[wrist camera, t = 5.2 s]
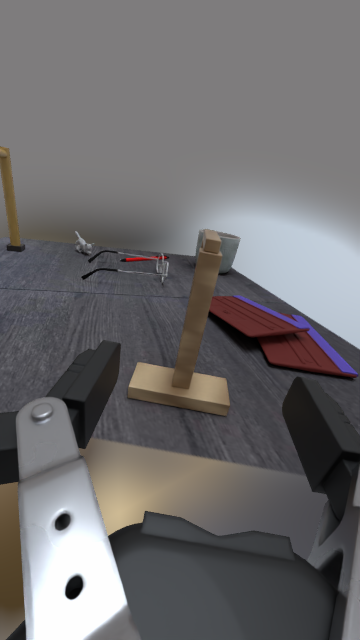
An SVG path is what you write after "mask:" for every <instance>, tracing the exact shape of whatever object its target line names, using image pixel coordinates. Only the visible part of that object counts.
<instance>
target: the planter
mask: <svg viewBox="0 0 360 640" xmlns="http://www.w3.org/2000/svg"><path fill="white" fill-rule="evenodd" d="M216 232H217V234H218V236H219V238H220V240H221V246H220V250H219V251H220V252H221V254H222V261H221V265H220V269H219V273H226V272H228V271H229V270H230V268H231V266H232V263H233V261H234V258H235V255H236V252H237V249H238V245H239V242H240V237H237V236H234V235H231V234H227V233H223V232H218V231H216ZM203 235H204V230H199V236H198V242H197V248H196V256H195V262H197V258H198V253H199V248H201V244H202V239H203Z"/></svg>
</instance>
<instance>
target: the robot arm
mask: <svg viewBox="0 0 360 640" xmlns="http://www.w3.org/2000/svg"><path fill="white" fill-rule="evenodd" d="M120 349H121V345H120V343H116V342H111V341H105V340H103V341H102V342H101V343H100V345H99V346H98V348H97V349H96V350H92V349H88V350H86V351H84V352H83V353H81V354H79V355H78V356H77V358H76V359H75V360H74V361H73V363H72V364H71V365H70V366H69V368H68V369H67V371H65V373H64V374H63V375H62V376H61V378H60V379H59V380H58V382H57V383H56V384H55V385H54V387H53V388H52V389H51V390H50V392H49V393H48V394H47V395H46V397H44V398H39V399H36V400H34V401H31V402H30V403H28V404H26V405H25V406H24V407H23V408H22V409H21V410H20V411H16V412H7V413H0V485H1V484H7V483H13V482H18V501H19V519H20V535H21V552H22V569H23V586H24V603H25V620H24V621H23V622H22V623H21V624H20V626H19V627H18V628H17V629H16V630H15V631H14V632H13V633H12V634H11V635H10V636H9V637H8V638H7V639H6V640H360V436H359V434H358V433H357V431H356V430H355V428H354V427H353V425H352V424H350V421H349V419H348V418H347V416H345V415H344V412H343V411H342V409H341V408H340V406H339V405H338V403H337V402H336V401H334V400H333V399H332V398H331V397H330V396H329V395H328V394H327V393H325V392H324V391H323V389H322V388H321V386H320V385H319V383H318V382H317V381H316V380H313V379H308V378H302V377H296V378H295V379H294V381H293V383H292V385H291V387H290V389H289V391H288V393H287V395H286V397H285V399H284V402H283V405H282V413H283V417H284V419H285V422H286V424H287V427H288V430H289V432H290V435H291V437H292V440H293V443H294V445H295V448H296V450H297V453H298V455H299V458H300V461H301V463H302V466H303V468H304V471H305V474H306V476H307V479H308V481H309V484H310V486H311V489H312V491H313V492H318V493H324V494H327V497H328V499H329V500H328V501H327V503H326V504H325V506H324V509H323V513H322V516H321V520H320V523H319V527H318V530H317V534H316V537H315V541H314V545H313V548H312V551H311V553H310V556H309V558H308V559H307V561H306V560H305V559H303V558H301V557H300V556H299V555H297V554H296V553H294V552H293V549H292V546H291V542H290V538H289V537H286V536H281V535H275V534H270V533H264V532H259V531H249V532H242V533H236V534H230V535H224V536H217V535H214V534H212V533H210V532H208V531H206V530H204V529H202V528H200V527H198V526H197V525H194V524H192V523H191V522H189V521H187V520H185V519H183V518H181V517H176V516H170V515H164V514H159V513H154V512H148V511H145V514H144V519H143V523H138V524H133V525H129V526H126V527H124V528H122V529H120V530H117V531H115V532H114V533H112V534H111V535H109V536H108V535H107V532H106V529H105V525H104V522H103V518H102V515H101V511H100V508H99V505H98V501H97V498H96V494H95V491H94V488H93V484H92V481H91V477H90V474H89V470H88V467H87V464H86V461H85V458H84V457H83V456H81V455H80V452H79V449H78V448H82V449H85V448H86V446H87V444H88V442H89V440H90V438H91V436H92V434H93V431H94V429H95V427H96V425H97V423H98V421H99V419H100V416H101V414H102V412H103V410H104V408H105V406H106V404H107V401H108V399H109V397H110V395H111V393H112V391H113V389H114V386H115V384H116V382H117V378H118V374H119V364H120Z"/></svg>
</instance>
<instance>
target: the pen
mask: <svg viewBox="0 0 360 640" xmlns="http://www.w3.org/2000/svg"><path fill="white" fill-rule="evenodd" d="M158 257H159V256H156V257H152V258H158ZM167 258H169V257H167V256H164V259H167ZM159 259H163V256H160V257H159ZM143 260H155V259H149V258H125V259H122V260H120V261H125V262H127V261H143Z"/></svg>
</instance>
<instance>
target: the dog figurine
mask: <svg viewBox="0 0 360 640" xmlns="http://www.w3.org/2000/svg"><path fill="white" fill-rule="evenodd" d="M76 235H77V236H78V238H79V239H78V240H77V241H76V244H75V246H77V247H76V249H77V250H78V251H79V252H80V253H81V251H83V252H85V251H86V252H87V253H88V254H89V256H90V254H91V250H92V245H93V244H86V242H85V241H84V240H83V239H82V238H81V237H80V236H79V234H78V233H77V231H76ZM77 244H78V245H77ZM94 244H95V243H94ZM82 249H83V250H82Z"/></svg>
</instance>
